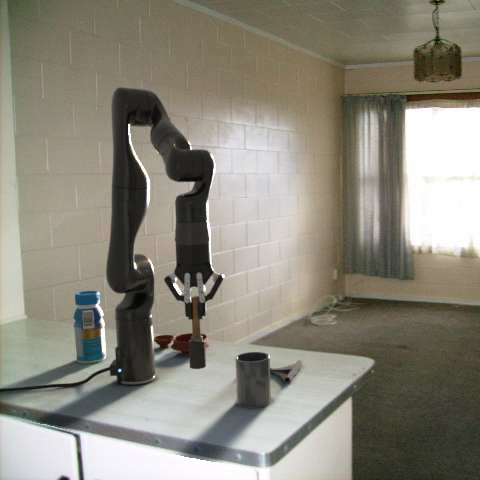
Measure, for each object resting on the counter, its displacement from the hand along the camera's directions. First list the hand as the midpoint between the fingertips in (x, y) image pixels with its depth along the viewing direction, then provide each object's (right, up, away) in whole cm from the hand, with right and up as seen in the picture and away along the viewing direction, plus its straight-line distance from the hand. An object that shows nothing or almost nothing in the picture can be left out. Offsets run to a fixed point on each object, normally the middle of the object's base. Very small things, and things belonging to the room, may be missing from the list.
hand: (195, 318), depth 141 cm
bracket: (+14, -19, +30) cm, 38 cm away
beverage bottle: (-39, -18, +45) cm, 63 cm away
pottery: (-15, -16, +53) cm, 58 cm away
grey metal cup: (+12, -21, +10) cm, 26 cm away
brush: (0, -11, +1) cm, 11 cm away
